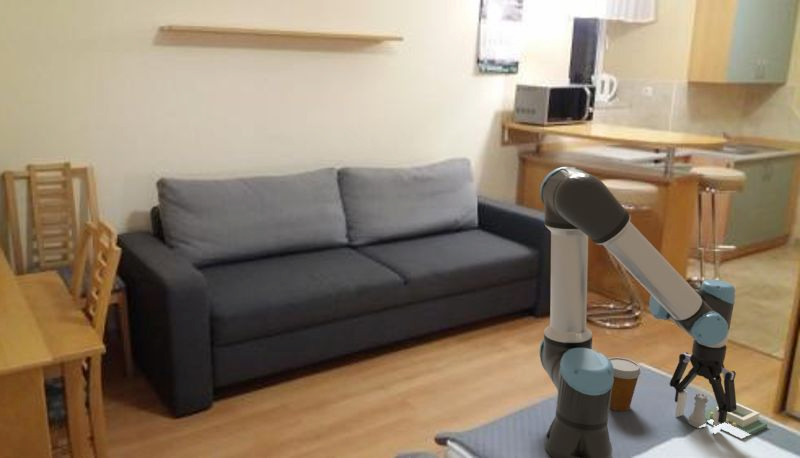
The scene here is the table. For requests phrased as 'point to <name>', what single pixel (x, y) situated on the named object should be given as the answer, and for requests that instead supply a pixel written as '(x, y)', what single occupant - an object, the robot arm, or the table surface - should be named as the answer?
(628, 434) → the table surface
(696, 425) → the rook chess piece
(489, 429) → the table surface
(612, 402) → the disposable coffee cup
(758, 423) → the board
